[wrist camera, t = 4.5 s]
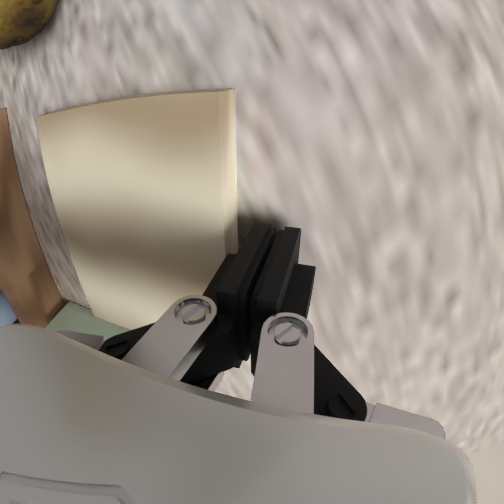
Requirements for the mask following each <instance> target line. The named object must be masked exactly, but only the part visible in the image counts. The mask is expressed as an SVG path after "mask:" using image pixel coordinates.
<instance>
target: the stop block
mask: <svg viewBox="0 0 504 504" xmlns="http://www.w3.org/2000/svg"><path fill="white" fill-rule="evenodd" d="M0 289H1V290H2V291H3V293H4V295H5V297H6V299H7V300H8V302H9V304H10V306H11V308H12V310H13V311H14V313H15V315H16V316H17V319H16V320H15V322H14V323H13V324H29V325H35V326H39V327H42V328H46V327H47V325H48V324H49V323H50V322H51V321H52V320H53V319H54V318H55V316H56V315H57V314H58V313H59V312H60V311H61V310H62V309H63V308H64V307H65V305H64V302H63V300H62V298H61V296H60V294H59V292H58V289H57V287H56V285H55V282H54V280H53V278H52V275H51V273H50V271H49V268H48V266H47V263H46V261H45V258H44V255H43V253H42V250H41V248H40V245H39V242H38V239H37V236H36V233H35V231H34V228H33V225H32V221H31V218H30V215H29V212H28V209H27V205H26V202H25V198H24V195H23V191H22V187H21V184H20V180H19V175H18V171H17V167H16V163H15V158H14V153H13V148H12V143H11V137H10V131H9V125H8V118H7V111H6V108H3V109H1V110H0Z"/></svg>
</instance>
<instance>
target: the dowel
mask: <svg viewBox="0 0 504 504" xmlns="http://www.w3.org/2000/svg"><path fill="white" fill-rule="evenodd" d="M16 319H17V316H16V315H15V313H14V311H13V310H12V308H11V306H10V304H9V302H8V300H7V299H6V297H5V295H4V293H3V291H2V290H1V289H0V327H2V326H4V325H9V324H13V323H14V322H15V320H16Z"/></svg>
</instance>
